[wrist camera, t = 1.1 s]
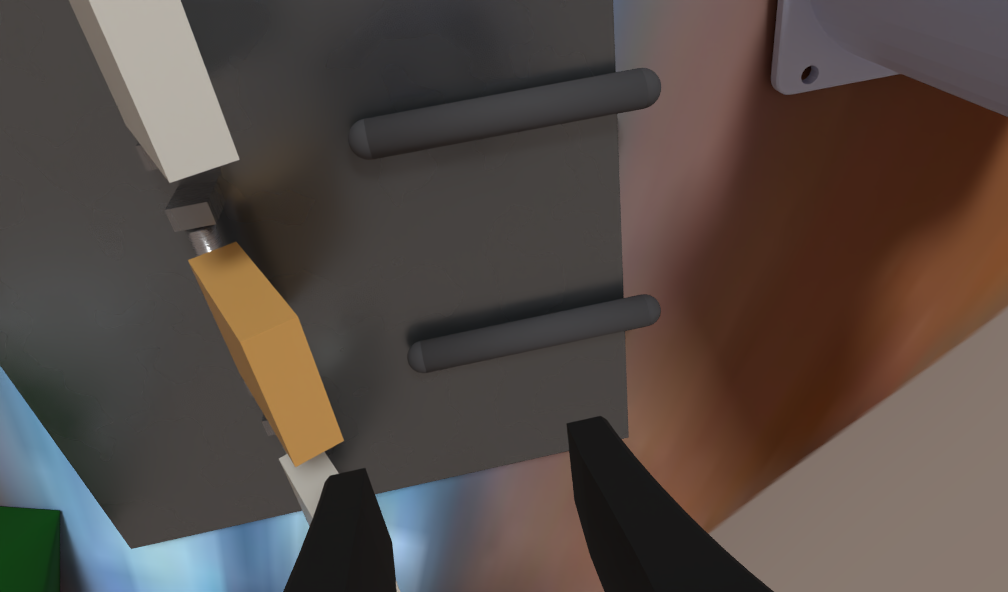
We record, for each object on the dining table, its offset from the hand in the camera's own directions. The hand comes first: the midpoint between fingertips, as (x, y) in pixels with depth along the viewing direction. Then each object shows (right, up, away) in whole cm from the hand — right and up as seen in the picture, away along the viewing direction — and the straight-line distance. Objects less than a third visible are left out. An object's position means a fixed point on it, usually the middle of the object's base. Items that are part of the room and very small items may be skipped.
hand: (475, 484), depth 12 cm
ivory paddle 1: (-8, +9, +2) cm, 12 cm away
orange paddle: (-7, +3, +6) cm, 10 cm away
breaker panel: (-5, +5, +8) cm, 11 cm away
